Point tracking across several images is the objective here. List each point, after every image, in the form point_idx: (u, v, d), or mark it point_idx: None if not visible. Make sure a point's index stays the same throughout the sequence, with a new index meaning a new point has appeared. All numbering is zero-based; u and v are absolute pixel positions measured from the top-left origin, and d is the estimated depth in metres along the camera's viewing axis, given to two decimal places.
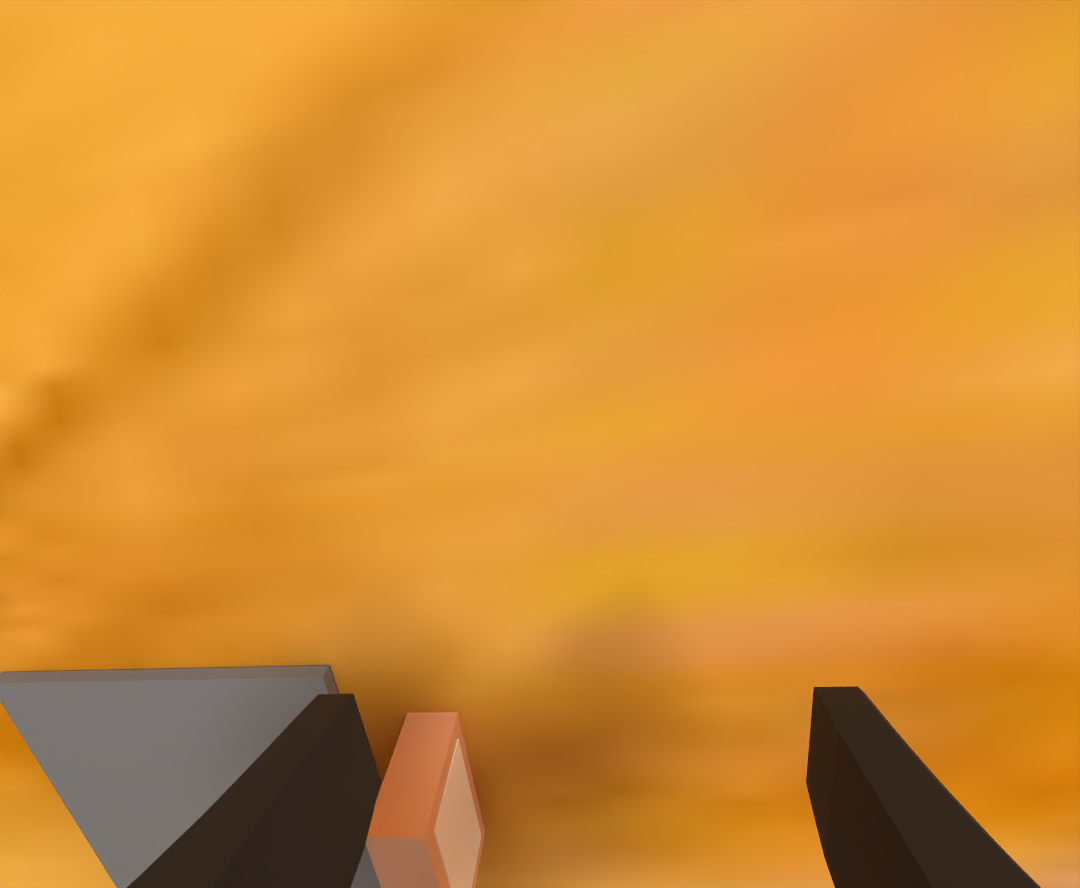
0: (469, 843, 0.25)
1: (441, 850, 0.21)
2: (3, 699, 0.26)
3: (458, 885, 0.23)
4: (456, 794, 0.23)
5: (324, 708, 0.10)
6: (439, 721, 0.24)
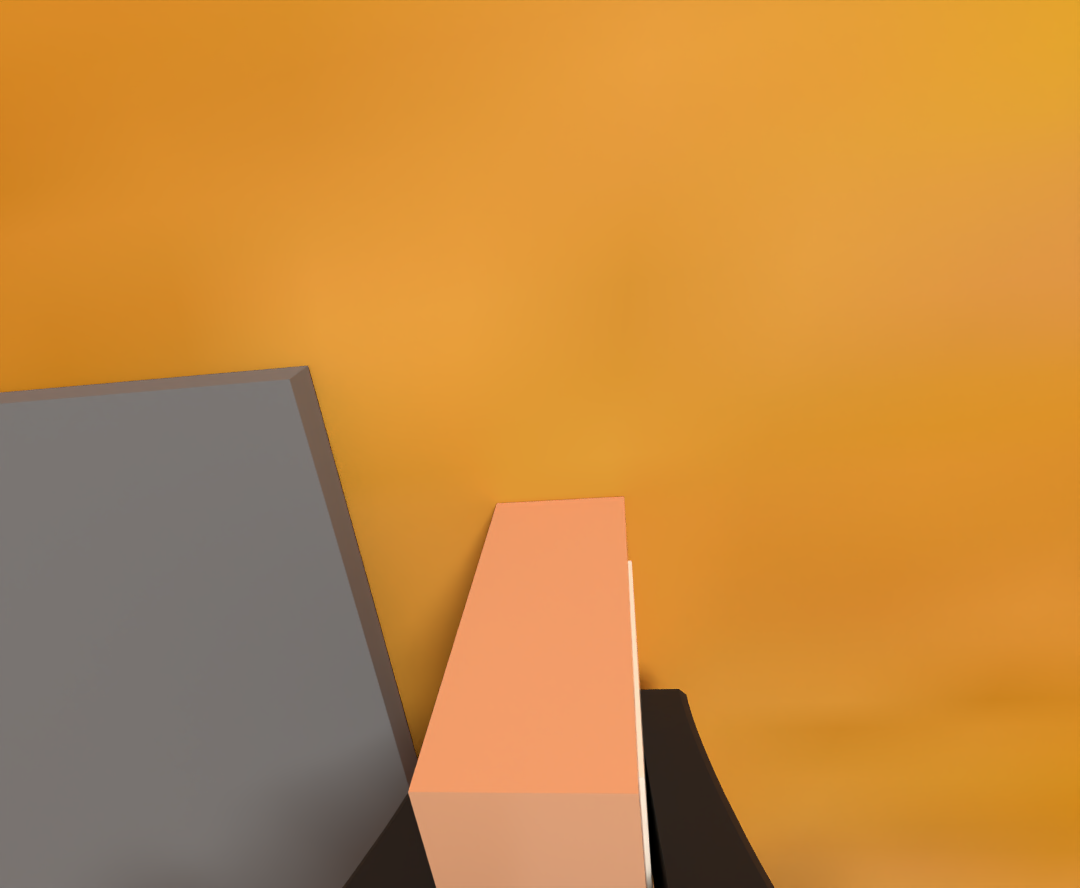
0: None
1: None
2: None
3: None
4: None
5: None
6: (583, 516, 0.09)
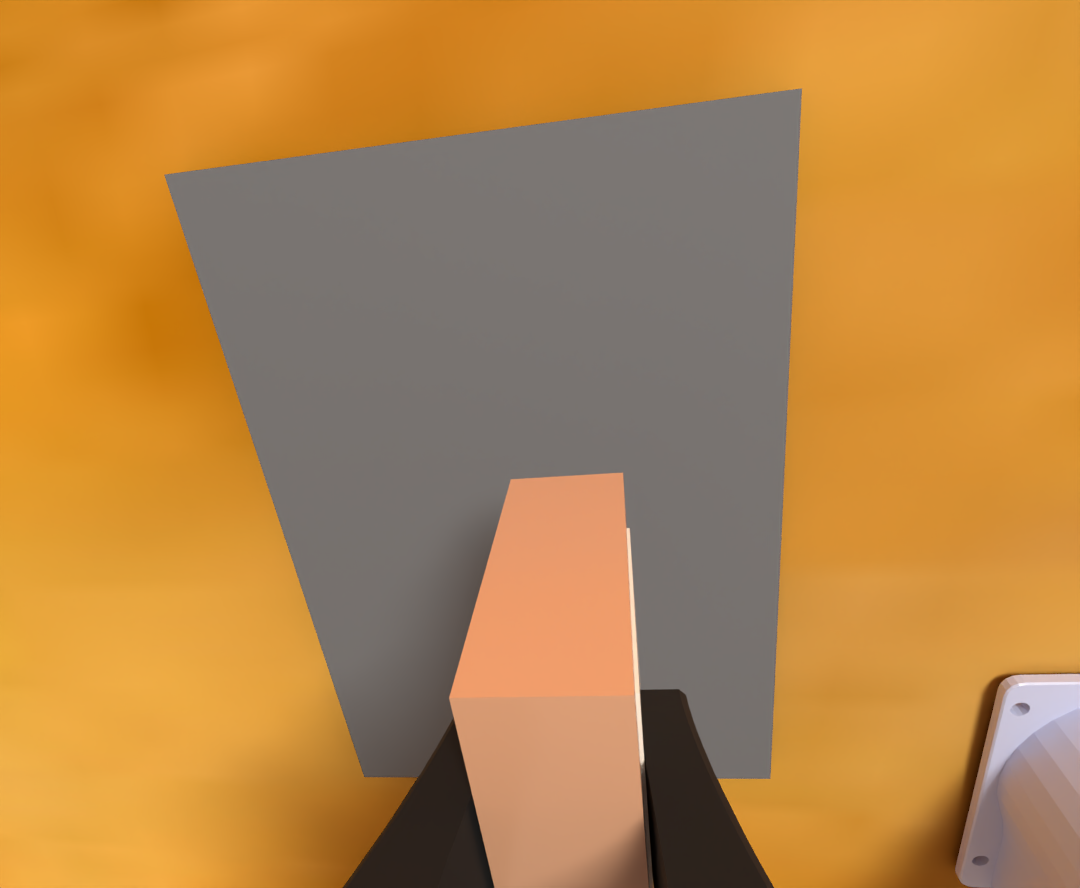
0: None
1: (641, 752, 0.08)
2: (185, 213, 0.15)
3: None
4: None
5: None
6: (587, 489, 0.11)
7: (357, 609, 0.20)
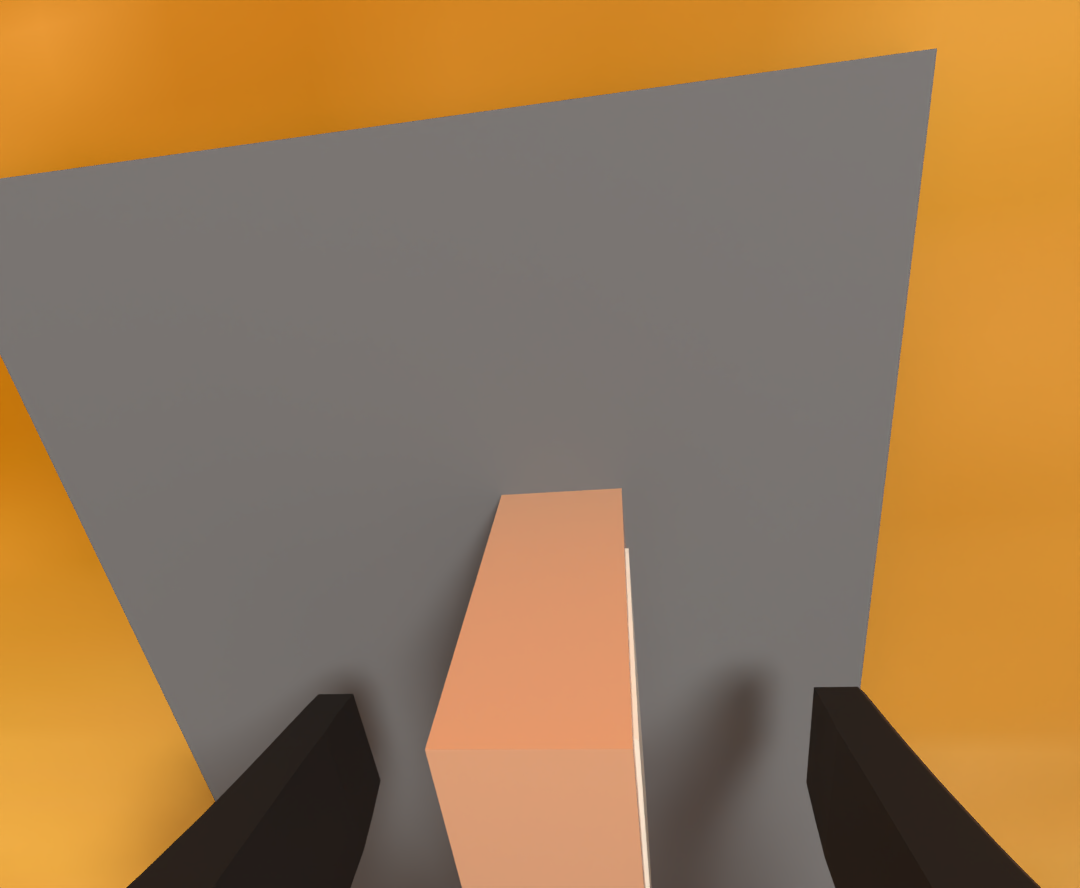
0: (645, 800, 0.11)
1: None
2: None
3: None
4: (636, 672, 0.09)
5: (325, 708, 0.10)
6: (583, 506, 0.10)
7: None
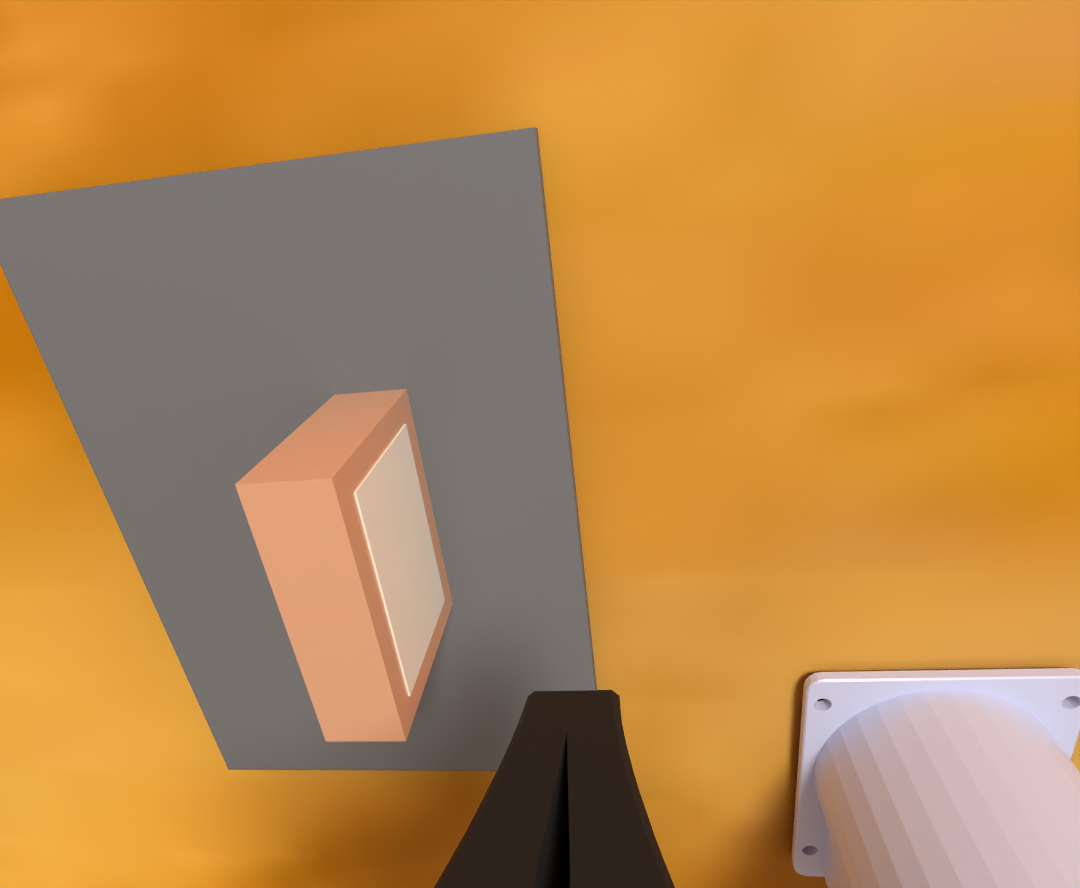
0: (423, 586, 0.17)
1: (368, 536, 0.14)
2: None
3: (401, 621, 0.15)
4: (400, 492, 0.16)
5: (550, 705, 0.09)
6: (377, 397, 0.16)
7: (201, 609, 0.21)
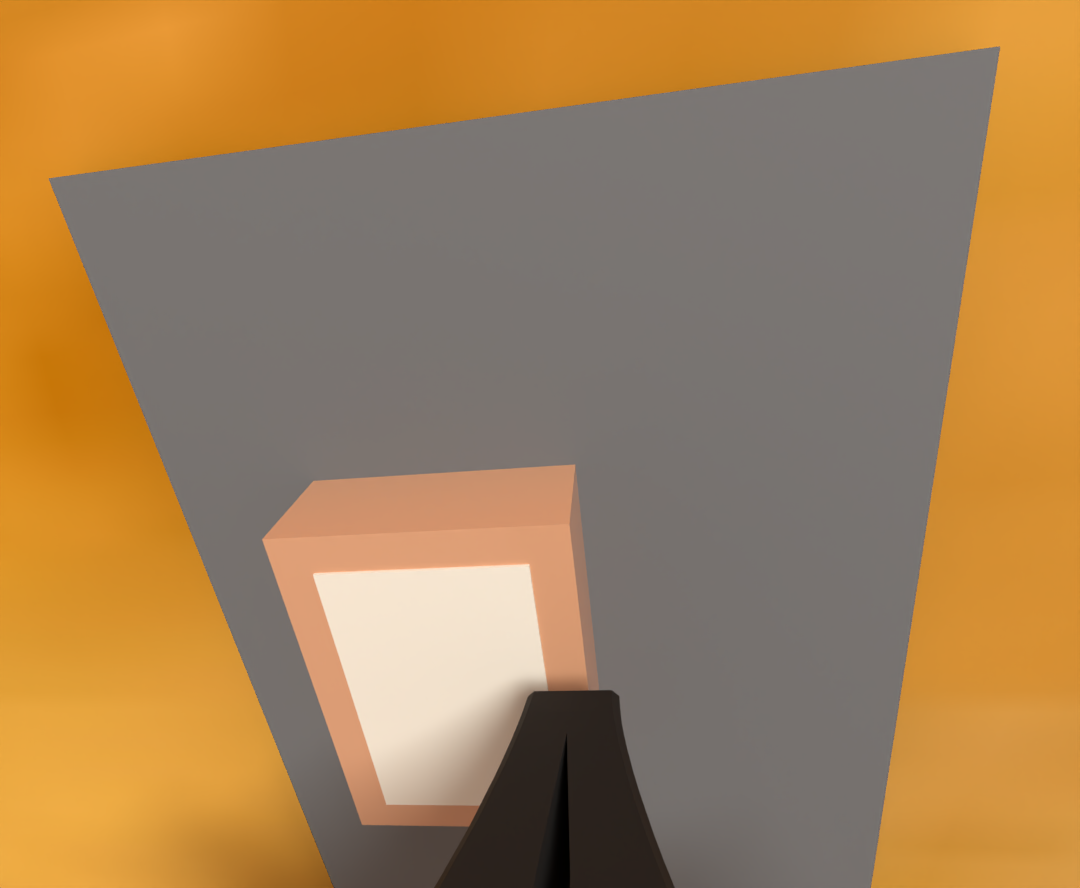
0: (487, 752, 0.12)
1: (335, 627, 0.11)
2: (82, 233, 0.11)
3: (394, 740, 0.12)
4: (457, 630, 0.11)
5: (550, 704, 0.09)
6: (539, 505, 0.10)
7: None
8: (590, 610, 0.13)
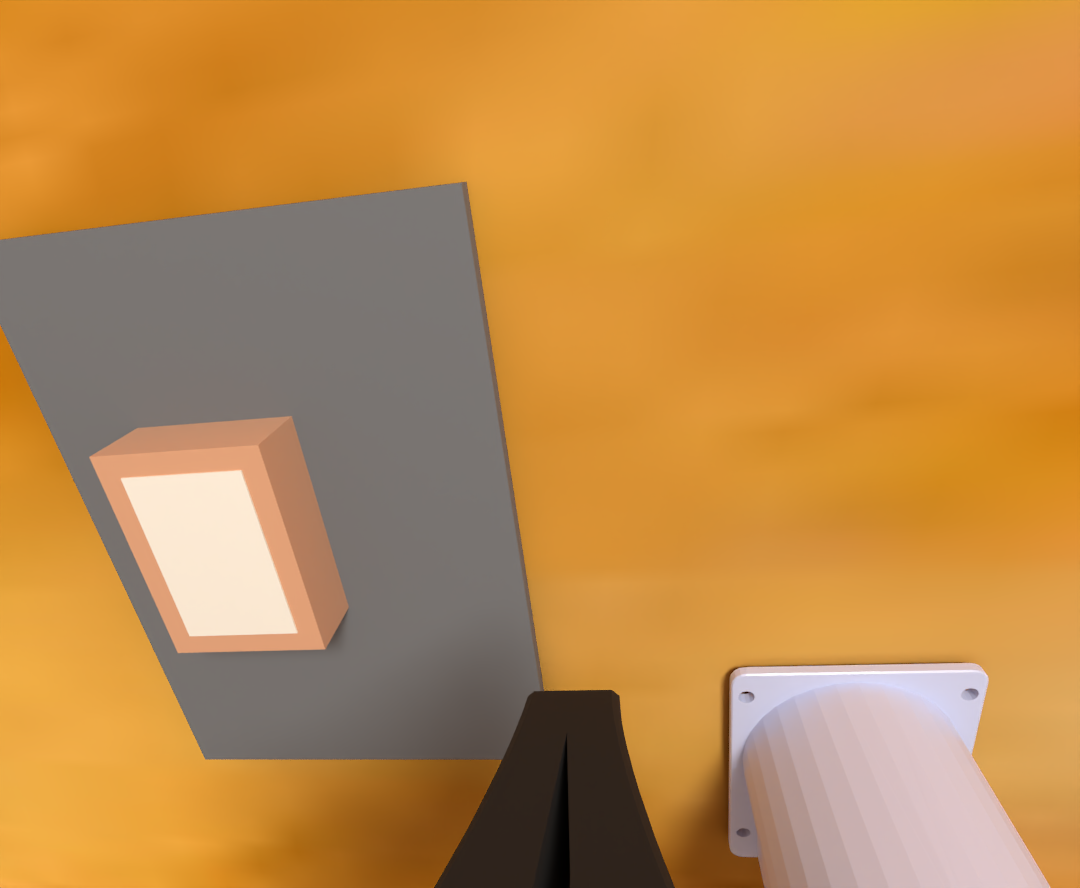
0: (242, 595, 0.19)
1: (139, 512, 0.18)
2: None
3: (186, 589, 0.19)
4: (209, 513, 0.18)
5: (551, 705, 0.09)
6: (251, 436, 0.18)
7: None
8: (318, 512, 0.20)
